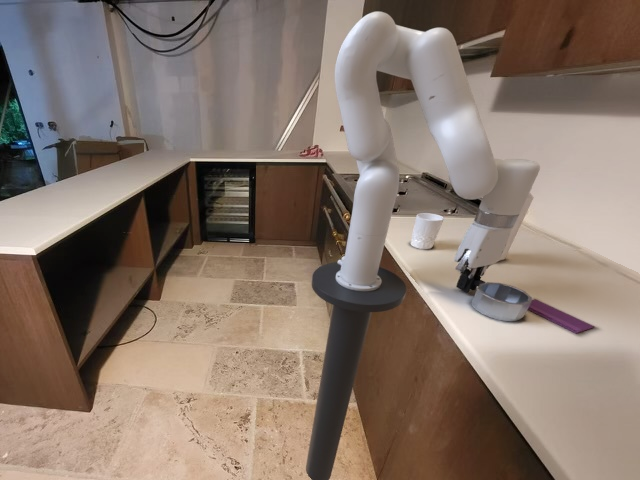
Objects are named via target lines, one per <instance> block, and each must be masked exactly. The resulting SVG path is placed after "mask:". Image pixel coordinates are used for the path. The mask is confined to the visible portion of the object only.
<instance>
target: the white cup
mask: <svg viewBox="0 0 640 480" xmlns="http://www.w3.org/2000/svg"><path fill="white" fill-rule="evenodd" d="M444 220H445V218H444V217H443V216H442V215H439V214H437V213H432V212H431V213H429V212H420V213H416V217H415V221H414V223H413V224H414V225H413V228H412V234H411V240H410V245H411V246H412V247H414V248H416V249H420V250H431V249H432V248H433V247H434V245H435V241H436V240H437V238H438V235H439V232H440V230H441V228H442V225H443V222H444Z"/></svg>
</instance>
